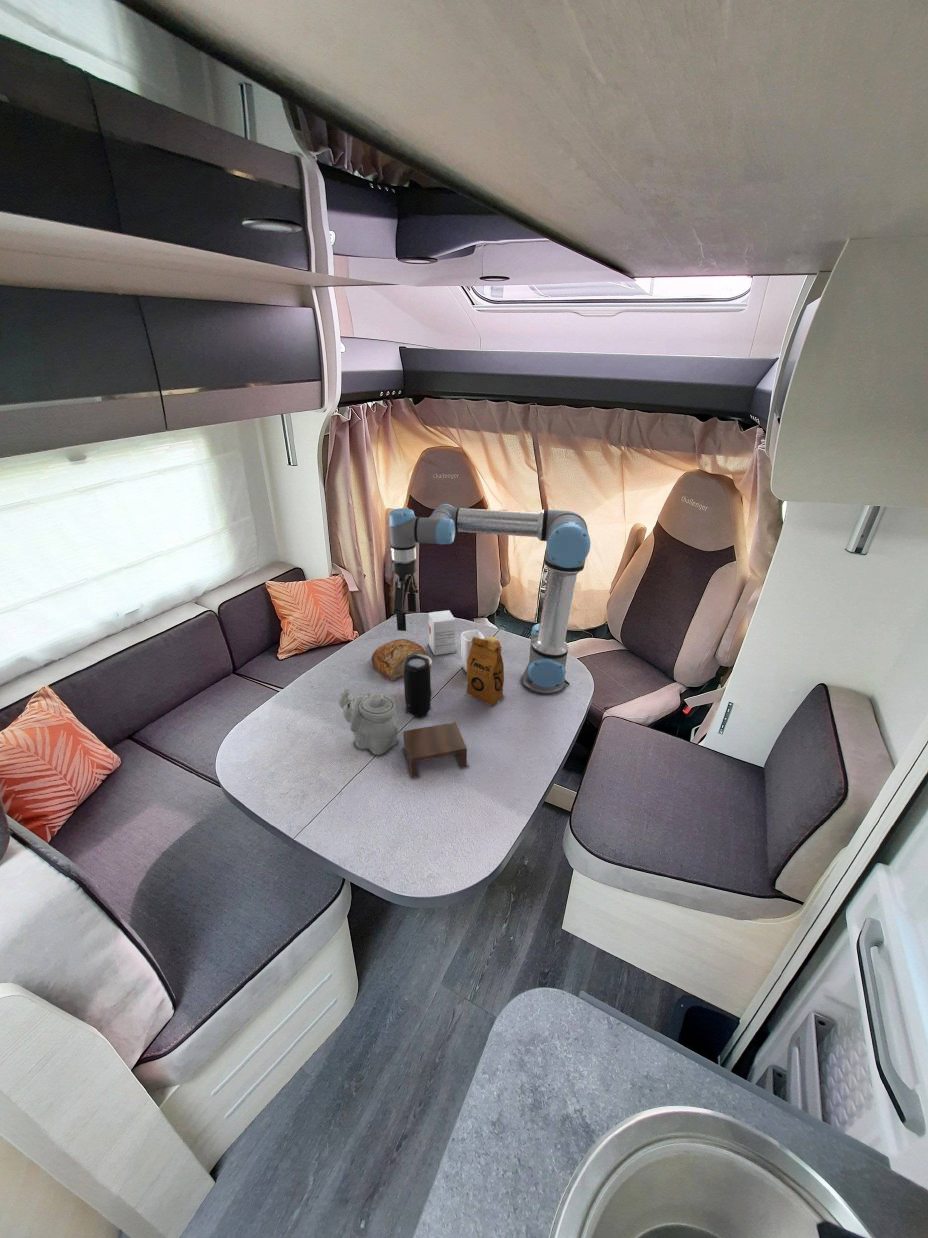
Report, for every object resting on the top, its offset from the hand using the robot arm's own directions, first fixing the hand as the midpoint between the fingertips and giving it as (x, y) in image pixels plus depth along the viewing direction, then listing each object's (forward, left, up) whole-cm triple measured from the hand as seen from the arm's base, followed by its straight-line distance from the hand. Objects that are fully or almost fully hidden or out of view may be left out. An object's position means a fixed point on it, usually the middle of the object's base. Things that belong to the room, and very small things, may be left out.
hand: (407, 620), depth 167 cm
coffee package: (-27, -1, -28) cm, 39 cm away
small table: (-16, +32, -28) cm, 45 cm away
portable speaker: (-6, +11, -28) cm, 31 cm away
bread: (+8, -16, -28) cm, 34 cm away
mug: (-4, 0, -28) cm, 28 cm away
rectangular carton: (-6, -30, -28) cm, 42 cm away
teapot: (+5, +28, -28) cm, 40 cm away
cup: (-20, -17, -28) cm, 38 cm away
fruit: (-26, -31, -28) cm, 49 cm away
